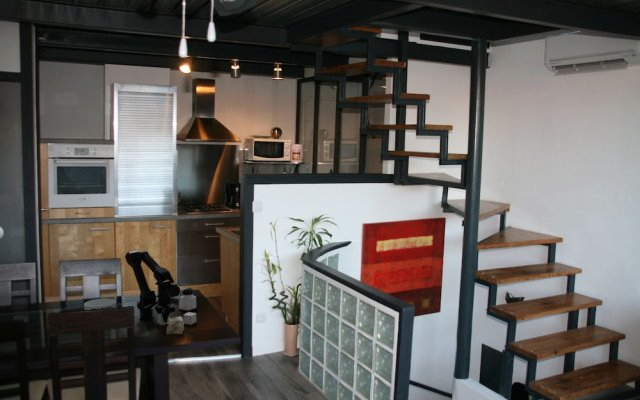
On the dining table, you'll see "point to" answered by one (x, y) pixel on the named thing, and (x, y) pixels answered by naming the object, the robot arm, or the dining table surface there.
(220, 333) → the dining table surface
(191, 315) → the grey cube
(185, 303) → the medicine bottle
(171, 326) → the birch slab
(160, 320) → the sage cube
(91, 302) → the cereal bowl
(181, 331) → the oak slab
